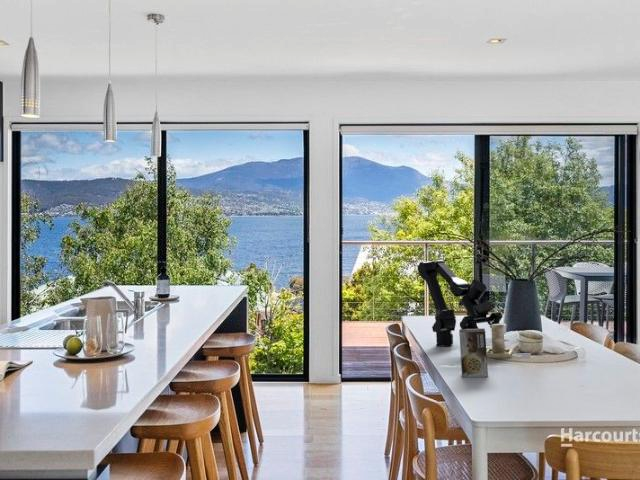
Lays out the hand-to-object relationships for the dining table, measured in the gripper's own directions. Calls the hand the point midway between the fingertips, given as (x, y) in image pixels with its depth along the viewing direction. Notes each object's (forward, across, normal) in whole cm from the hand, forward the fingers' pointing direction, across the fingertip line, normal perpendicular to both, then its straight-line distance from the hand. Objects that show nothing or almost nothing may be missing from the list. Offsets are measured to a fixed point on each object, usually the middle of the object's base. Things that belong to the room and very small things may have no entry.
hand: (491, 337), depth 269 cm
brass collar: (+8, 0, +2) cm, 8 cm away
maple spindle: (+7, 0, +2) cm, 8 cm away
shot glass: (-13, +26, +24) cm, 38 cm away
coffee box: (+21, -28, -11) cm, 37 cm away
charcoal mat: (+5, +4, +5) cm, 9 cm away
